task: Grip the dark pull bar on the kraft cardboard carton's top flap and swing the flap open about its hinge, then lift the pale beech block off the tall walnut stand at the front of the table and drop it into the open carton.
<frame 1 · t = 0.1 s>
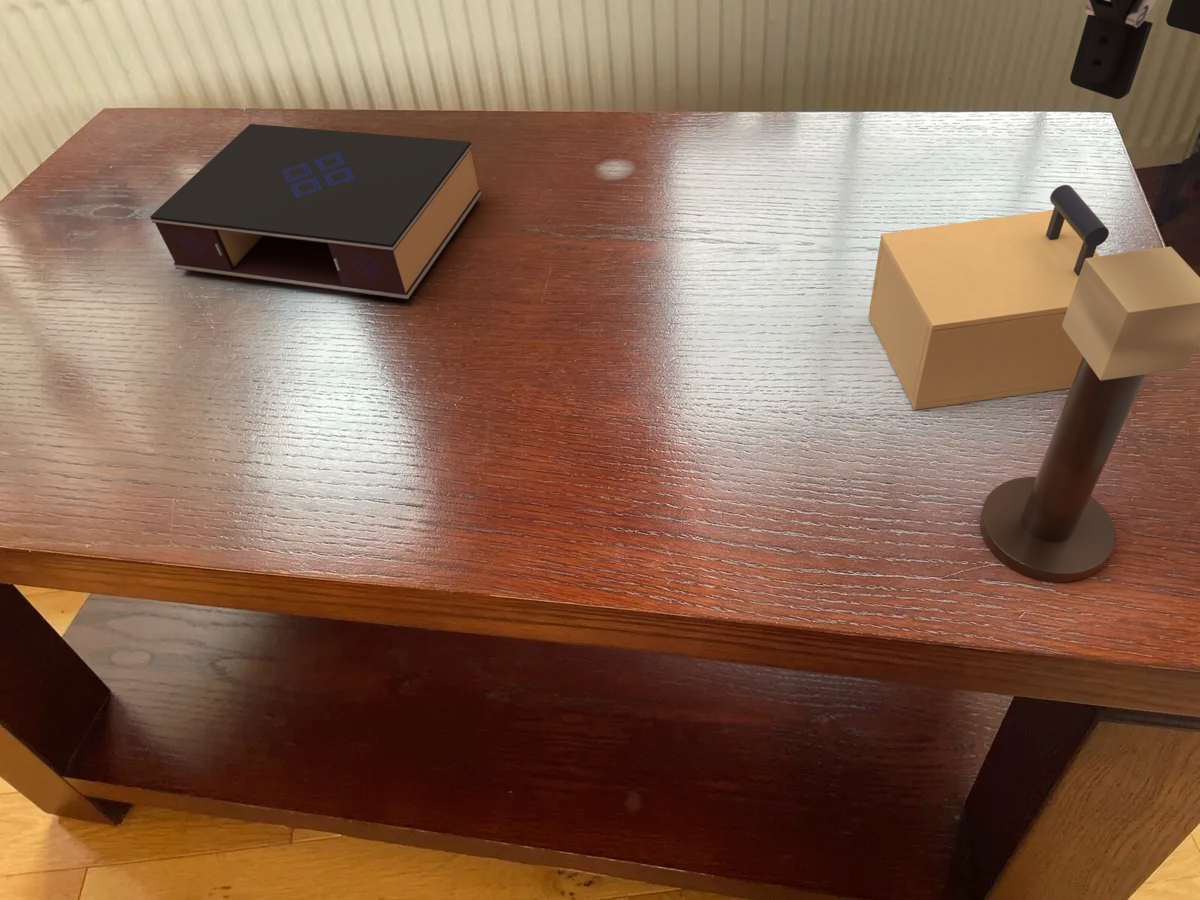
hand: (1146, 59, 53), 24 cm above the table, tool pointing down, fingers open, 9 cm apart
carton flap: (1006, 242, 67), point 10 cm above the table, hinge at 0.0°
carton: (972, 349, 74), on the table
block: (1121, 346, 50), point 16 cm above the table, touching stand
stand: (1044, 532, 61), on the table
black flat box: (335, 239, 93), on the table
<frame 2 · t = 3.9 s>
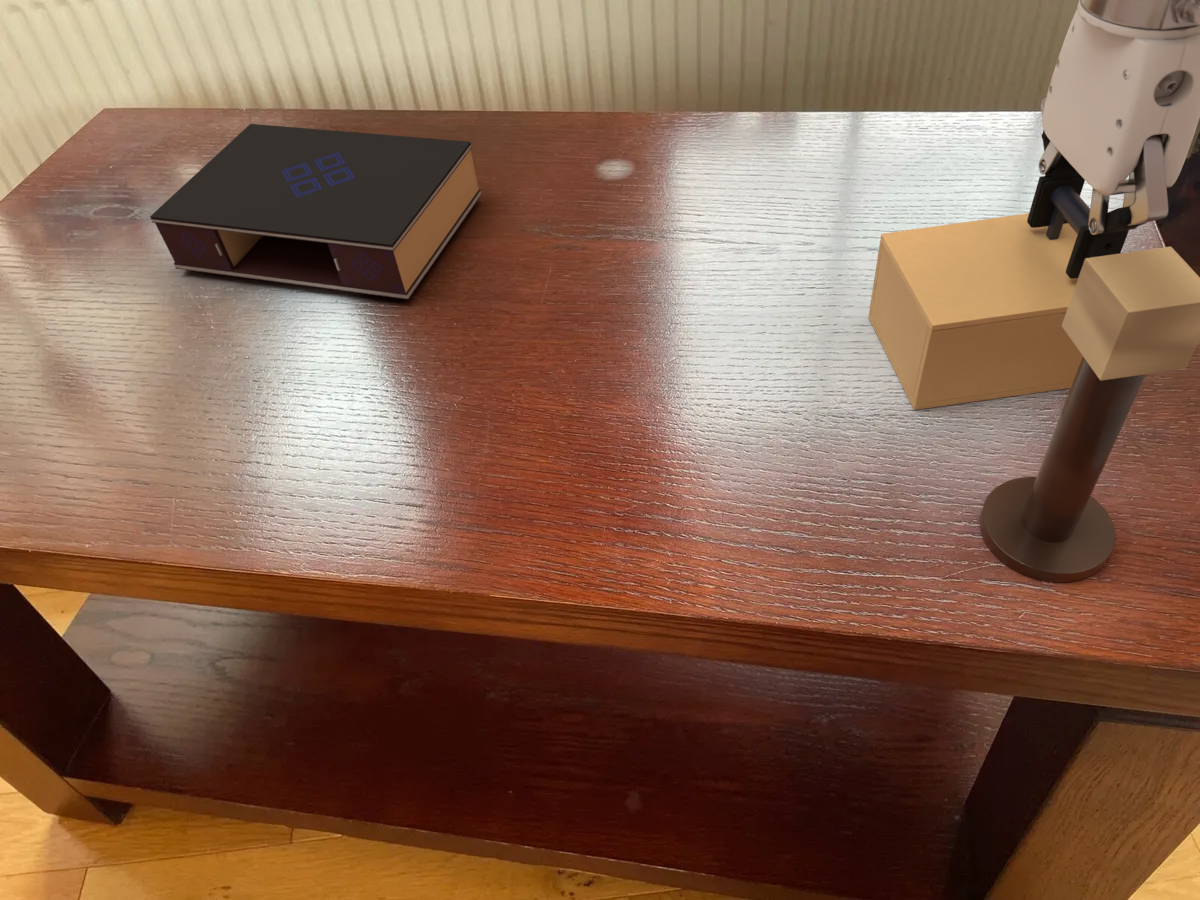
hand: (1068, 245, 67), 9 cm above the table, tool pointing down, fingers closed on carton flap, 5 cm apart
carton flap: (1006, 242, 67), point 10 cm above the table, hinge at 0.0°, touching gripper
everything else where it was.
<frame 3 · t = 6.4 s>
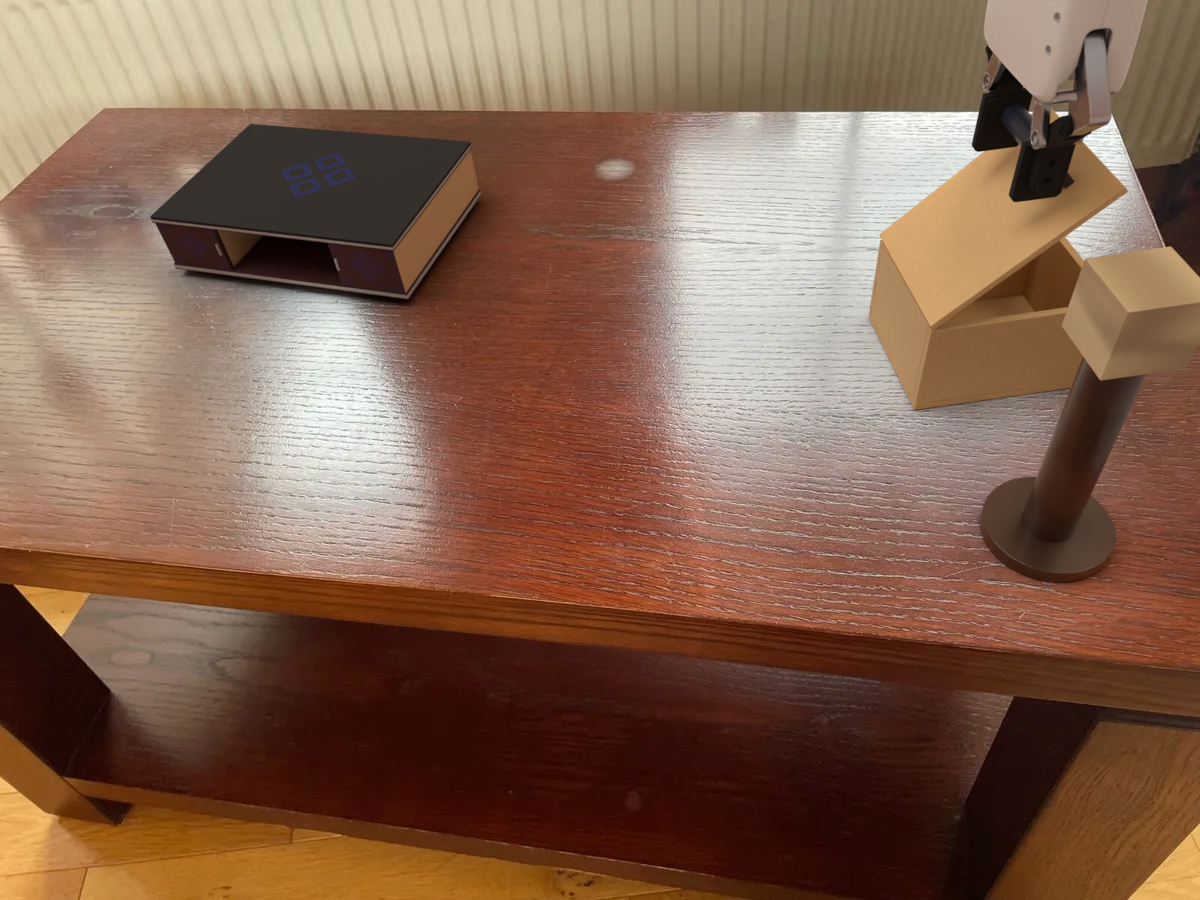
hand: (1014, 169, 62), 16 cm above the table, tool pointing down, fingers closed on carton flap, 5 cm apart
carton flap: (975, 198, 63), point 14 cm above the table, hinge at 40.9°, touching gripper
everything else where it was.
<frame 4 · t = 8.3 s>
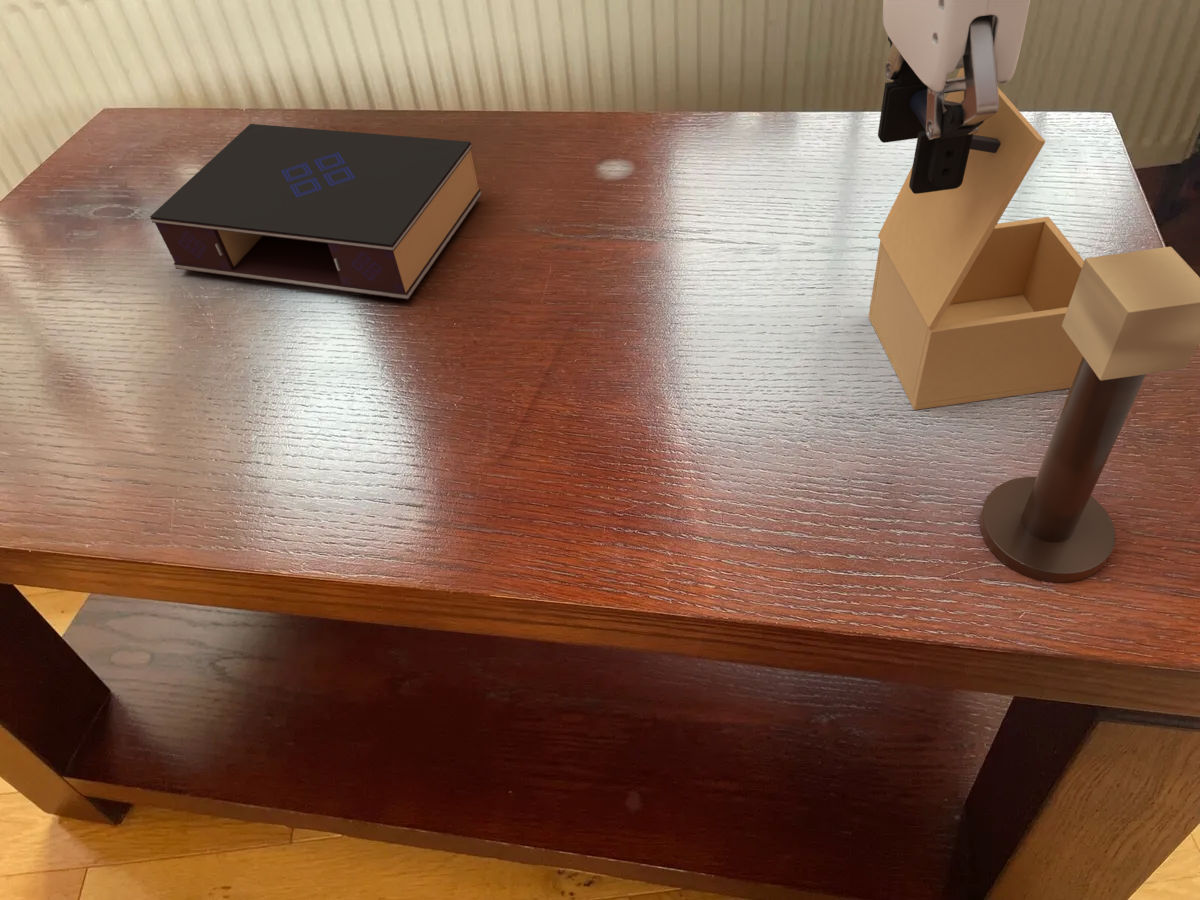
hand: (917, 160, 61), 18 cm above the table, tool pointing down, fingers closed on carton flap, 5 cm apart
carton flap: (923, 190, 63), point 15 cm above the table, hinge at 72.5°, touching gripper
everything else where it was.
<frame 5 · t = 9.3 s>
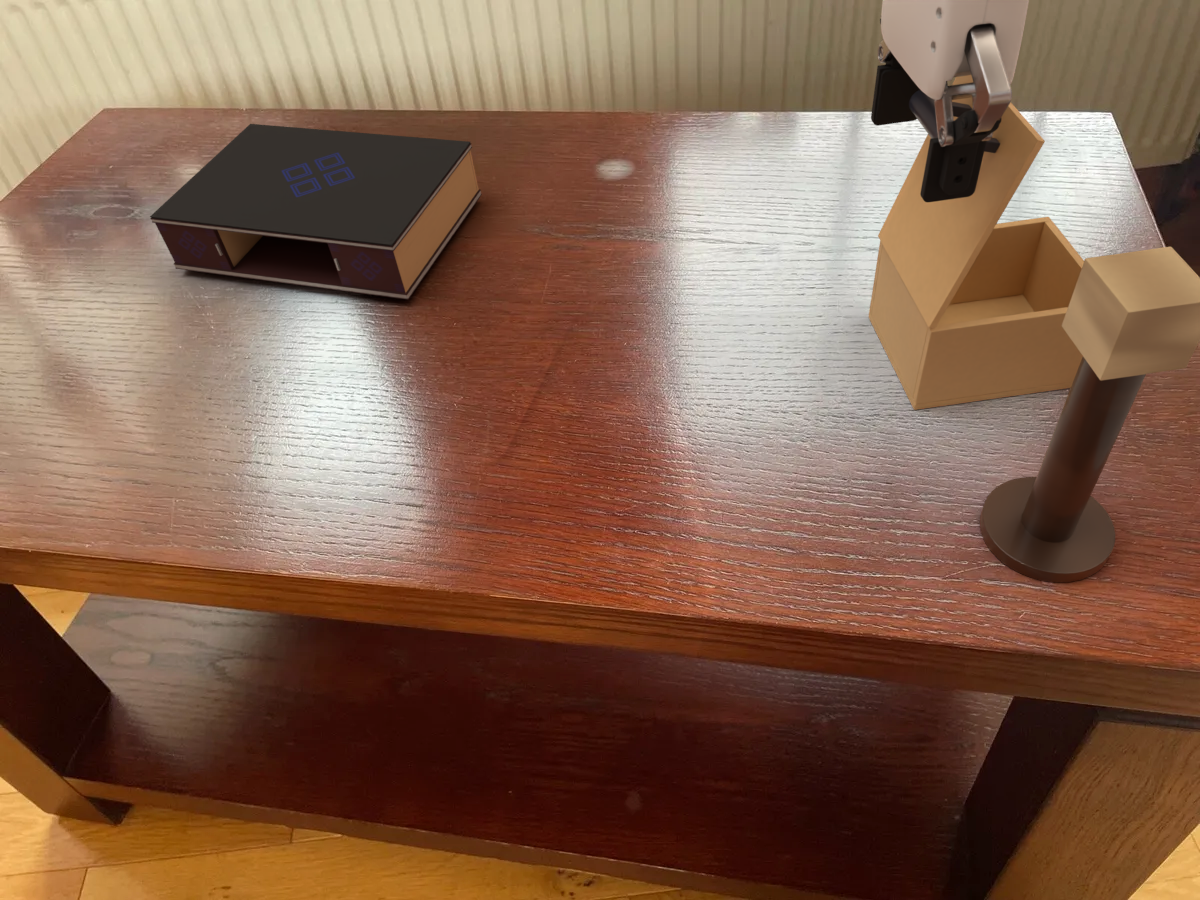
hand: (919, 157, 61), 18 cm above the table, tool pointing down, fingers open, 9 cm apart
carton flap: (922, 191, 63), point 15 cm above the table, hinge at 72.7°
everything else where it was.
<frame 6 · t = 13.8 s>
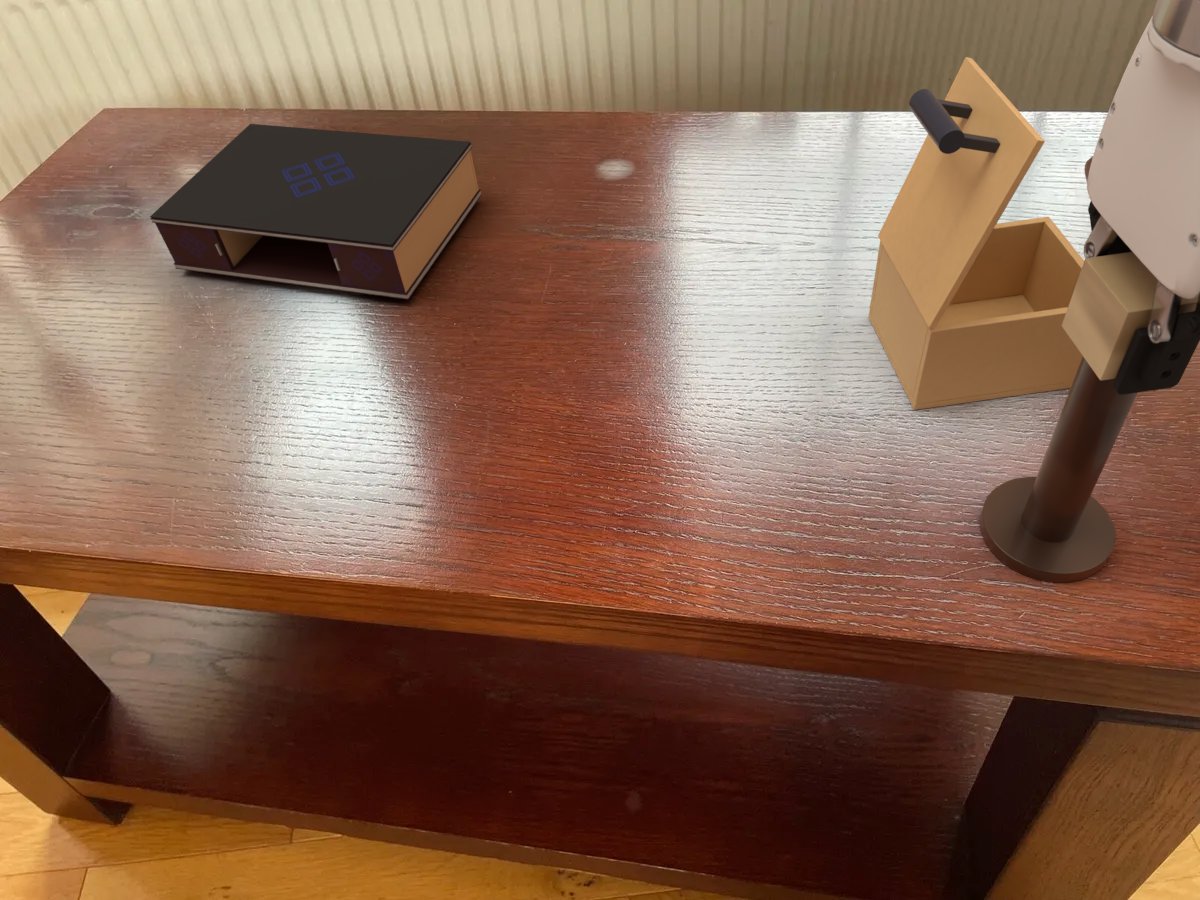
hand: (1119, 351, 50), 16 cm above the table, tool pointing down, fingers closed on block, 4 cm apart
block: (1121, 346, 50), point 16 cm above the table, touching gripper, stand
everything else where it was.
when the fingers open (7 cm above the table, at t = 22.2 s): block drops 7 cm, resting on carton.
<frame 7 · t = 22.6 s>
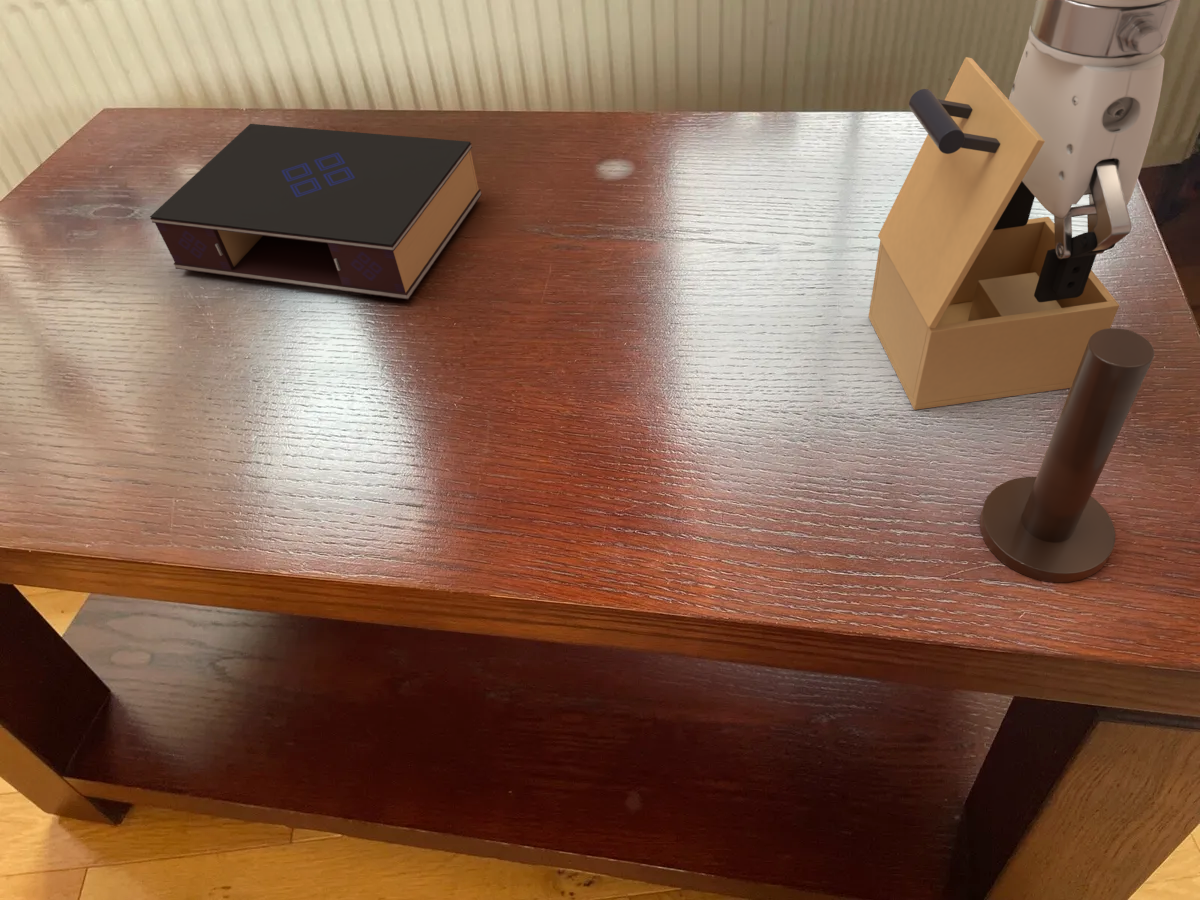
hand: (1029, 259, 68), 8 cm above the table, tool pointing down, fingers open, 8 cm apart
block: (1005, 339, 73), point 1 cm above the table, touching carton
everything else where it was.
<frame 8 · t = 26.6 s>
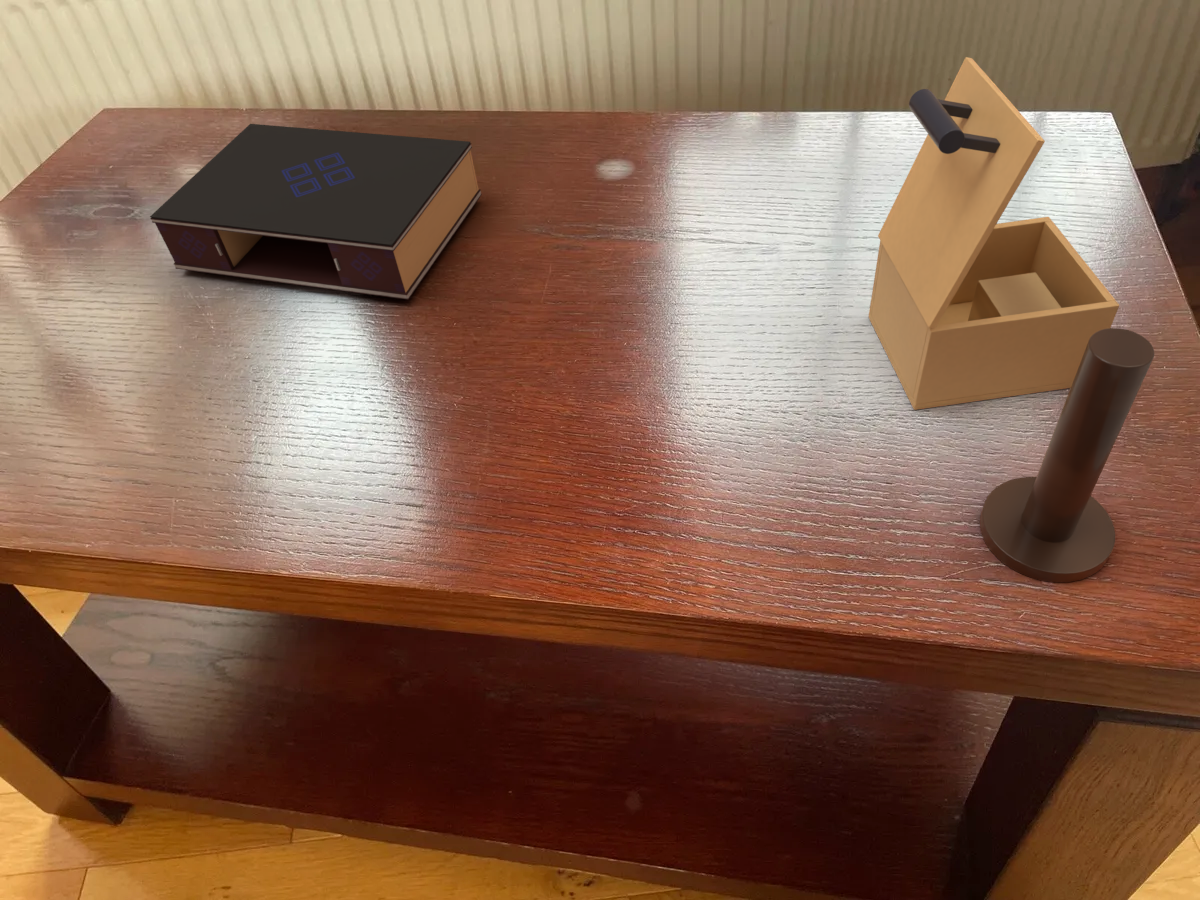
nothing on the table moved.
at the end: carton flap at +73° (first picture: +0°); block inside the target area in the carton (2.5 cm from its centre), point 0.6 cm above the carton's base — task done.
